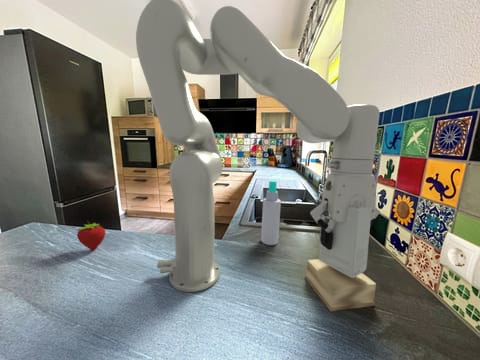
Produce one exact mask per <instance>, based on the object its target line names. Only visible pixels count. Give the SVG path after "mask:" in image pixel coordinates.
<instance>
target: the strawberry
mask: <svg viewBox="0 0 480 360" xmlns="http://www.w3.org/2000/svg"><path fill="white" fill-rule="evenodd" d="M87 223H88V224H84V225H83V226H84V227H81V228H78V231H77V234H76V237H77V239H78V241H79V243H81V244H82V245H83V246H85V247H86V248H88V249H89V250H90V251H95V250H97V249H98V247H99V246H100V245H101V243H102V242H103V240H104V239H105V237H106V234H107V233H106V230H105V228H104V227H102V226H101V225H100V223H96V222H93V223H91V224H90V222H89V221H87Z"/></svg>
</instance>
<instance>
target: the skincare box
mask: <svg viewBox="0 0 480 360" xmlns="http://www.w3.org/2000/svg"><path fill="white" fill-rule="evenodd" d="M327 211H328V209H327V210H325V212H324V213H326V212H327ZM370 215H371V207H370V206H359V207H349V209H348V216H347V222H345V223H337V222H336V224H335V225H334V227H333V229H332V230H331V232H333V243H332V249H331V250H328V249H327V248H325V247H324V246H323V245H322V244H321V242H320V241H319V257H318V259H319V261H321V262H323V263H325V264H327V265H329V266H331V267H333V268H334V269H336V270H338V271H340V272H342V273H343V274H345V275H347V276H349V277H351V278H354V277H356V276H357V275H359V274H361V273H363V274H364V272H366V270H367V266H368V254H369V243H370V242H369V240H370V232H371V231H370V230H371V229H370V228H371V225H370ZM320 216H321V218H322V219H323V217H324V215H322V214H321V215H320ZM328 216H329V214H328ZM329 221H330V219H328V222H327V224H328V223H329ZM319 233H320V236H321V232H319Z"/></svg>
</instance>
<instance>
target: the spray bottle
mask: <svg viewBox="0 0 480 360" xmlns="http://www.w3.org/2000/svg"><path fill="white" fill-rule="evenodd" d="M278 191H279V190H278ZM278 191H277V181H276V180H269V182H268V189H267V190H266V194H265V195H266V196H265V198H263V199H262V217H261V235H260V236H261V237H260V241H261V243H263V244H265V245H267V246H275V245H277V244H278V243H279V235H280V217H281V203H282V201H281V199H279V192H278Z"/></svg>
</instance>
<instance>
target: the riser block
mask: <svg viewBox="0 0 480 360" xmlns="http://www.w3.org/2000/svg"><path fill="white" fill-rule="evenodd" d="M305 273H306V274H305V275H304V279H305V281H307V282H308V284H309V285H310V286H311V288H312V289H313V290H314V291H315V293H316V294H317V295H318V297H319V298H320V300H321V301H322V302H323V304H325V306H326V308H327V309H328V310H329V311H330V312H336V311H345V310H352V309H359V308H360V309H361V308H366V307H373V306H376V302H375V294H376V290H377V289H376V287H377V283H376V282H375V281H374V280H372V279H371V278H370V277H368V276H367V275H365V273H364V272H363V273H361V274H359V275H357V276H356V277H354V278H351V277H349V276H347V275H345V274H343V273H342V272H340V271H338V270H336V269H334V268H333V267H331V266H329V265H327V264H325V263H323V262H321V261H319V258H317V259H307V264H306V272H305Z"/></svg>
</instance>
